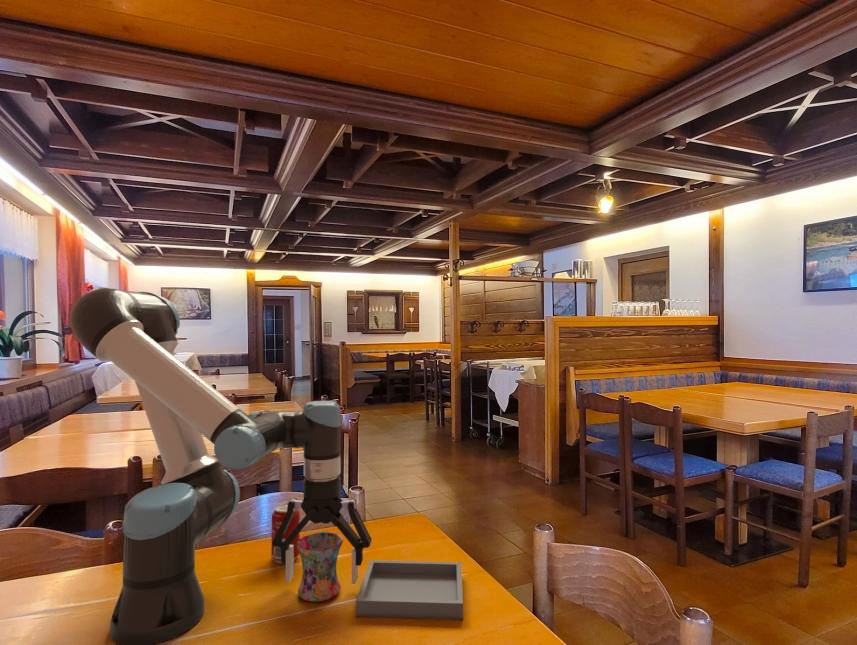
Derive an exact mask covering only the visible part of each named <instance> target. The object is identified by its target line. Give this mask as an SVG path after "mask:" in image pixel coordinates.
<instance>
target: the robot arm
mask: <svg viewBox="0 0 857 645" xmlns="http://www.w3.org/2000/svg"><path fill="white" fill-rule="evenodd" d="M69 318H70V319H69V323H70V329H71V331H72V333H73V336H75V339H76V340H77V341H78V342H79V344H80V345H81V346H82V347H83V348H84V349H85V350H86V351H87V352H89V353H90V354H91V355H92V356H94V357H95V358H97V360H99V361H101V362H106V363H107V362H110V363H112V364H114V365H115V366H116V367H117V368H118V369H120V370H121V371H122V372H124V373H125V374H126V375H128V377H129V378H131V379H132V380H133V381H135V385H136V388H137V391H138V394H139V396H140V400H141V403H142V406H143V408H144V409H143V410H144V411H145V414H146V416H147V419H148V423H149V425H150V429H151V432H152V435H153V438H154V440H155V443H156V446H157V450H158V452H159V455H160V458H161V461H162V464H163V466H164V469H165V474H164V476H163V478H162V480H161V481H160V483H161V484H159V485H157V486H156V487H155V486H153V487H149V488H146V489H144V490H142V491H140V492H138V493H137V494H135V495H134V496H133V497H131V498H130V500H129V501H127V503H126V504H125V507H124V512H123V513H124V514H123V520H122V525H121V527H122V534H123V536H122V537H123V538H122V587H121V589H120V592H119V596H118V598H117V600H116V604H115V605H114V606H115V607H114V609H113V612H112V614H111V617H110V622H109V623H110V626H109V632H110V633H109V635H110V638H111V640H113V641H114V642H115V643H116V644H119V645H156V644H159V643H163V642H166V641H168V640H171V639H174V638H176V637H178V636H180V635H182V634H184V633H186V632H188V631H189V630H190V629H192V628H194V627H195V626H196V625H197V624H198V623H199V622H200V621H201V619H202V618H203V616H204V614H205V596H204V593H203V591H202V588H201V584H200V582H199V579H198V576H197V572H196V569H195V567H196V544H197V543H199V542H200V541H201V540H203V539H204V538H205V537H207V536H208V535H209V534H210V533H211V532H213V531H214V530H216V529H218V528H220V527H221V526H222V525H224V524H225V523H226V522H227V521H228V520H229V518H230V517H232V515H233V514H234V512H235V511H236V509H237V507H238V506H239V505H238V504H239V502H240V497H241V496H240V495H241V491H240V486H239V482H238V481H237V478H236V477H235V476H234V475H233V474H232V473H231V472H228V470H226V469H229V470H233V471H234V470H241V469H244V468H247V467H249V466H253V465H255V464H256V463H257V462H259V461H260V460H261V459H263V458H264V457H266V456H267V455H270V454H271V453H273V452H274V451H277V450H278V449H285V448H287V449H300V448H301V449H302V450H303V476H304V479H303V500H299V499H297V497H293V498H291V499H290V501H289V502H288V503H287V504H288V507H287V513H286V515H285V517H284V519H283V521H282V523H281V525H280V527H279V529H278V531H277V534H276V536H275V538H274V540H273V542H272V541H271V542H272V545H273V546H274V547H275V546H278V547H280V548H281V563H282V564H281V565H284V566H285V583H287V584H290V583H291V581H292V580H293V578H294V576H295V575H294V573H295V572H294V570H295V568H294V567H295V566H294V564H295V562H294V561H295V560H294V545H290V546H289V544H290V543H291V542H292V541H293V539H294V538H295V537H296V536H297V535H298V533H299V532H300V533H301V532H302V530H303V529H304V527H306V525H307V524H308V523H309V521H310V522H311V523H313V524H323V525H324V524H325V525H328V524H329V523H332V525H334V526H333V527H336V528H337V529H338V530H339V531H340V532H341V534H342V535H343V536H344V537H345V539H346V540H347V541H348V542H349V543H350V545H351V546H352V551H351V585H355V584H356V583H357V581H358V578H359V575H358V573H359V567H361V565H362V563H363V560H364V559H363V558H364V556H363V555H364V553H363V552H364V551H363V550H364V549H369V547H370V546H371V543H372V540H373V539H372V537H371V534H370V533H369V531H368V529H367V527H366V524H365V523H364V520H363V518H362V517H361V515H360V512H359V511H358V509H357V508H358V506H357V500H356V498H350V500H342V497H341V493H342V492H341V487H342V486H341V484H342V482H341V480H342V479H341V477H340V474H341V464H342V463H341V431H342V430H341V429H342V428H341V427H342V421H341V410H340V409H341V408H340V405H339V404H338V403H337V402H336V401H332V400H313V401H309V402H306V403H304V404H303V409H302V410H301V411H299V410H298V411H291V410H290V411H285V410H282V411H281V410H269V409H267V410H266V409H265V410H257V411H252V412H251V413H249V414H247V413H246V412H244V411H243V410H242V409H241V408H239V407H238V406H237V405H236V404H234V402H232V401H230V400H229V399H228V398H227V397H226V396H224V395H223V394H222V393H221V392H219V391H218V390H217V389H216V388H214V387H213V386H212V385H211V384H210V383H208V382H207V381H206V380H204V379H203V378H202V377H201V376H199V375H198V374H197V373H196V372H194V371H193V370H192V369H191V368H189V367H188V366H187V365H186V364H184V362H181V361H180V359H178V358H177V357H175V356H176V355H175V353H174V352H175V349H176V348H177V346H178V345H179V342H178V339H177V336H176V335H177V334H178V332H179V331H178V330H179V328H180V326H181V325H180V324H181V322H180V321H181V319H180V315H179V311H178V309H177V308H176V307H175V306H174V304H173V303H172V302H171V301H170V299H169V300H168V299H167V298H166V297H164V296H162V295H158V294H155V293H152V292H148V291H133V290H131V291H130V290H125V289H124V290H123V289H118V288H108V287H106V288H98V289H93V290H91V291H89V292H87V293H85V294H83V295H81V297H80V298H79V299H78V300H77V301H75V303H74V305H73V307H72V309H71V312H70V317H69ZM204 438H206V439H207V440H209V441H210V443H212V445H213V452H214V454H215V456H212V455H210V453H209V451H208V449H207V446H206V444H205V439H204ZM222 466H223V467H224V468H225V469H223V468H222ZM300 508H301V509H302V511H303V512H304V514H305V515H304V517H303V518H302V519H301V520H300V523H299V524H298V525H297V526H296V528H295V529H294V530H293V531H292V532H291V534H290V535H289V536H288V537H287V538H286V539H283V536H284V534H285V532H286V530H287V528H288V526H289V523H290V521H291V519H292V517H293V515H294V513H295V512H296V511H297V510H299V509H300ZM342 508H343V509H344V510H345V512H346V513H348V515H349V518H350V520H351V522H352V524H353V525H354V528H352V526H351V525H350V524H349V523H348V522H347V521H346V519H345V518H344V515H343V513H341V510H342ZM354 529H355V530H356V531H355V530H354Z"/></svg>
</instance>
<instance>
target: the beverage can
mask: <svg viewBox="0 0 857 645" xmlns="http://www.w3.org/2000/svg"><path fill="white" fill-rule="evenodd" d="M287 507H288V503H283V504H280V505H277V506H275V508H274V511H273V512H272V514H271V544H270V545H271V546H270V548H271V554H270V556H271V559H272V561H274V562H275V563H277V564H281V565H283V564H282V563H281V548H280V547H278V546H275V547H274V546H273V545H272V542H273V540H274V538H275V536H276V534H277V531H278V529H279V527H280V525H281V523H282V521H283V519H284V517H285V515H286V513H287ZM300 516H301V514H300V511H299V509H298V510H297V511H296V512H295V513H294V515H293V517H292V519H291V521H290V523H289V526H288V528H287V530H286V532H285V534H284V536H283V539H286V538H287V537H288V536H289V535H290V534H291V532H292V531H293V530H294V529H295V528H296V526H297V525H298V524H299V523H300V522H301V520H300V518H301V517H300ZM300 533H301V531H300V532H299V533H298V535H297V536H296V537H295V538H294V539H293V541H292V542H291V543H290V544H289V546H290V545H294V561H296V559H297V558H298V557H299V556H300V553H299V551H298V549H297V547H296V543H297V541H298V540H299V539H300V538H301V537H300Z"/></svg>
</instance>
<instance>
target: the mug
mask: <svg viewBox="0 0 857 645" xmlns="http://www.w3.org/2000/svg"><path fill="white" fill-rule="evenodd" d="M343 543H344V539H343V537H342V536H341V535H339V533H335V532H330V531H318V532H317V531H316V532H313V533H308V534H306V535H303V536H302V537H299V540H298V541H297V543H296V547H297V549H298V551H299V556H300V559H301V566H302V575H301V582H300V583H299V586H298V589H297V594H298V596H299V597H300V598H301V599H302V600H304V601H307V602H314V603H317V602H324V601H327V600H330V599H332V598H334V597H335V596H336V595H338V593H340V590H341V583H340V581H339V579H338V574H337V562H338V561H337V560H338V557H339V553H340V550H341V548H342V545H343Z"/></svg>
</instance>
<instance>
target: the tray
mask: <svg viewBox="0 0 857 645" xmlns="http://www.w3.org/2000/svg"><path fill="white" fill-rule="evenodd" d="M462 574H463V572H462V562H460V561H459V562H457V561H455V562H453V561H418V560H417V561H416V560H415V561H413V560H380V559H378V560H376V559H375V560H373V559H372V560H371V559H370V560H369V563H368V566H367V568H366V571H365V574H364V577H363V580H362V583H361V585H360V588H359V592H358V593H357V594H358V595H357V597H356V601H355V611H356V612H355V617H356V618H386V619H387V618H388V619H390V618H391V619H396V618H397V619H417V620H418V619H419V620H420V619H423V620H450V621H451V620H457V621H463V620H464V597H463V596H464V594H463V579H462V578H463V576H462Z"/></svg>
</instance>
